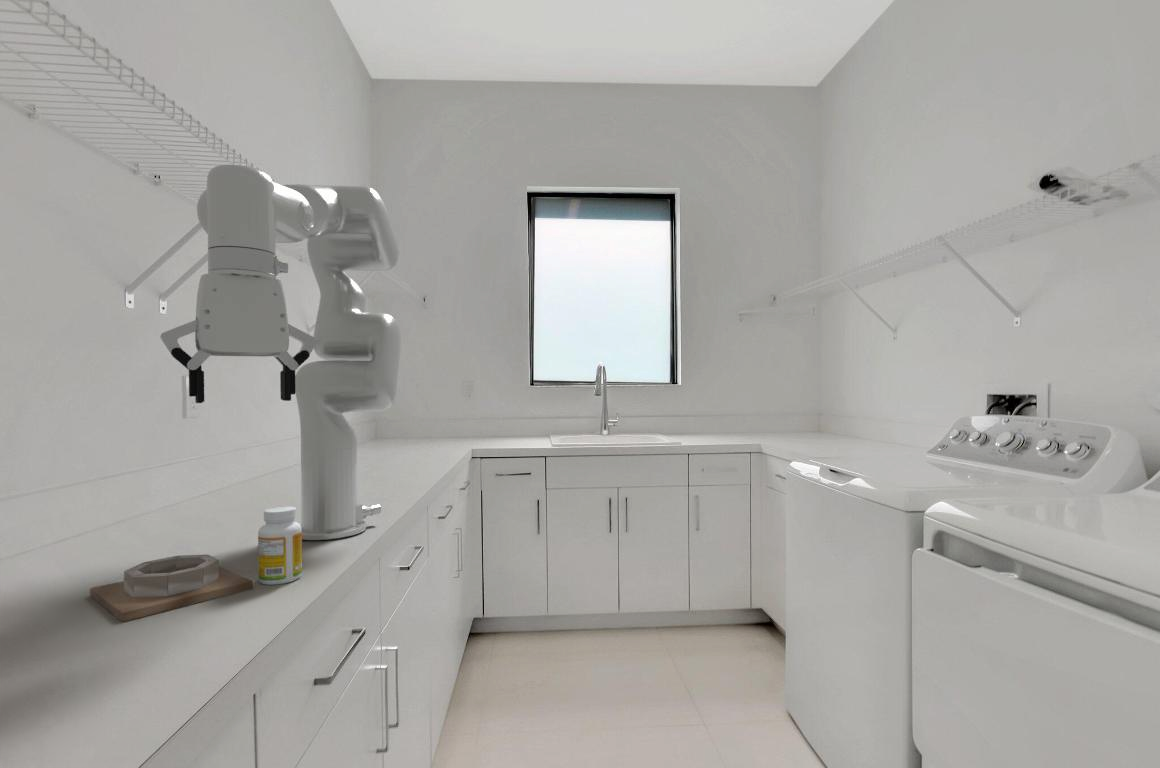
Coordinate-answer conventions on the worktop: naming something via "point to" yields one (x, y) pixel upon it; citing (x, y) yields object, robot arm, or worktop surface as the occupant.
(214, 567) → the ring socket
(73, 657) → the worktop surface
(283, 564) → the supplement bottle
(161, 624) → the worktop surface
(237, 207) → the robot arm
